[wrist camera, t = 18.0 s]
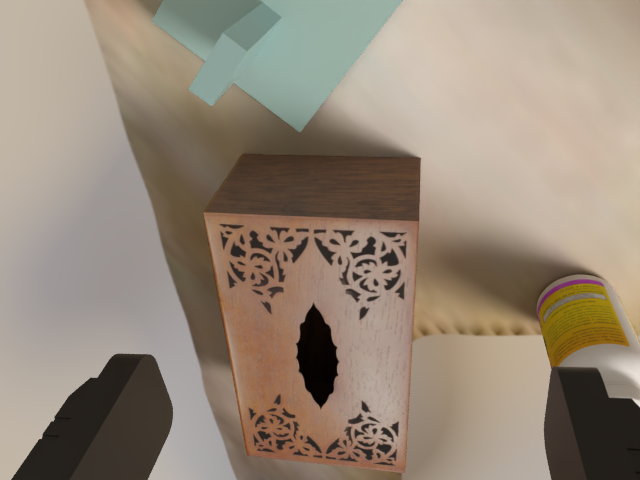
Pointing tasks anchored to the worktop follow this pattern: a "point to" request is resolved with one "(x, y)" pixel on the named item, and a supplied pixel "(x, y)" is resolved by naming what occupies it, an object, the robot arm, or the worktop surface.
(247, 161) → the tissue box cover
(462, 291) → the worktop surface
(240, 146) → the worktop surface
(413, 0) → the worktop surface
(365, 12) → the lid
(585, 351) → the supplement bottle
